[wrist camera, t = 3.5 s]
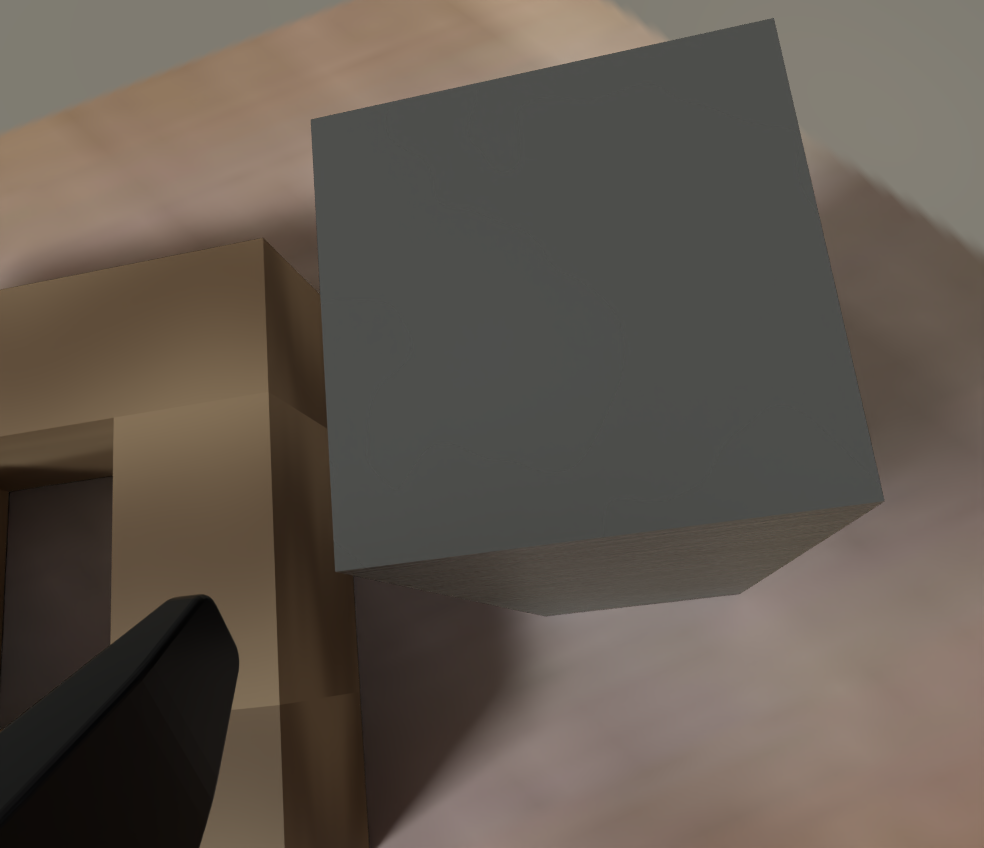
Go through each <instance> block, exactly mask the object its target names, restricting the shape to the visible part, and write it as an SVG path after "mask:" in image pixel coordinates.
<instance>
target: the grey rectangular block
mask: <svg viewBox="0 0 984 848" xmlns="http://www.w3.org/2000/svg"><path fill="white" fill-rule="evenodd" d="M311 133H312V151H313V170H314V188H315V207H316V225H317V244H318V262H319V281H320V299H321V318H322V336H323V355H324V373H325V392H326V411H327V429H328V448H329V466H330V485H331V503H332V522H333V540H334V559H335V572H339V573H343V574H348V575H353V576H357V577H362V578H367V579H372V580H376V581H381V582H386V583H391V584H395V585H400V586H405V587H409V588H414V589H419V590H424V591H428V592H433V593H438V594H442V595H447V596H452V597H457V598H461V599H466V600H471V601H475V602H480V603H485V604H490V605H494V606H499V607H504V608H508V609H513V610H518V611H523V612H527V613H532V614H537V615H542V616H552V615H561V614H570V613H578V612H587V611H596V610H604V609H613V608H622V607H631V606H639V605H648V604H657V603H665V602H674V601H683V600H692V599H700V598H709V597H718V596H726V595H735V594H741V593H742V592H744V591H745V590H747V589H748V588H750V587H752V586H753V585H755V584H756V583H758V582H759V581H761V580H762V579H764V578H766V577H767V576H769V575H770V574H772V573H773V572H775V571H776V570H778V569H780V568H781V567H783V566H784V565H786V564H787V563H789V562H791V561H792V560H794V559H795V558H797V557H798V556H800V555H801V554H803V553H805V552H806V551H808V550H809V549H811V548H812V547H814V546H815V545H817V544H819V543H820V542H822V541H823V540H825V539H826V538H828V537H830V536H831V535H833V534H834V533H836V532H837V531H839V530H840V529H842V528H844V527H845V526H847V525H848V524H850V523H851V522H853V521H855V520H856V519H858V518H859V517H861V516H862V515H864V514H865V513H867V512H869V511H870V510H872V509H873V508H875V507H876V506H878V505H879V504H881V503H883V502H884V497H883V492H882V488H881V484H880V479H879V475H878V471H877V466H876V462H875V457H874V453H873V449H872V444H871V440H870V436H869V431H868V427H867V423H866V418H865V414H864V409H863V405H862V401H861V396H860V392H859V388H858V383H857V379H856V375H855V370H854V366H853V361H852V357H851V353H850V348H849V344H848V340H847V335H846V331H845V327H844V322H843V318H842V313H841V309H840V305H839V300H838V296H837V292H836V287H835V283H834V279H833V274H832V270H831V265H830V261H829V257H828V252H827V248H826V244H825V239H824V235H823V231H822V226H821V222H820V217H819V213H818V209H817V204H816V200H815V196H814V191H813V187H812V183H811V178H810V174H809V169H808V165H807V161H806V156H805V152H804V148H803V143H802V139H801V135H800V130H799V126H798V121H797V117H796V113H795V109H794V105H793V100H792V95H791V91H790V87H789V83H788V78H787V74H786V69H785V65H784V60H783V56H782V52H781V47H780V43H779V39H778V34H777V30H776V26H775V21H774V18H772V19H768V20H763V21H759V22H754V23H749V24H745V25H740V26H736V27H731V28H727V29H722V30H717V31H713V32H709V33H704V34H700V35H695V36H690V37H685V38H681V39H676V40H672V41H667V42H663V43H658V44H654V45H649V46H644V47H640V48H635V49H631V50H626V51H622V52H617V53H612V54H608V55H603V56H599V57H594V58H590V59H585V60H581V61H576V62H571V63H567V64H562V65H558V66H553V67H549V68H544V69H539V70H535V71H530V72H526V73H521V74H517V75H512V76H507V77H503V78H498V79H494V80H489V81H485V82H480V83H476V84H471V85H466V86H462V87H457V88H453V89H448V90H444V91H439V92H434V93H430V94H425V95H421V96H416V97H412V98H407V99H402V100H398V101H393V102H389V103H384V104H380V105H375V106H371V107H366V108H361V109H357V110H352V111H348V112H343V113H339V114H334V115H329V116H325V117H320V118H316V119H311Z"/></svg>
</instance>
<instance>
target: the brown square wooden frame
mask: <svg viewBox="0 0 984 848" xmlns="http://www.w3.org/2000/svg"><path fill="white" fill-rule="evenodd" d="M108 476H113V503H112V568H111V634H110V645H111V644H112V643H114V642H115V641H116V640H117V639H119V638H120V637H121V636H122V635H124V634H125V633H126V632H127V631H129V630H130V629H131V628H133V627H134V626H135V625H136V624H138V623H139V622H140V621H141V620H143V619H144V618H145V617H146V616H148V615H149V614H150V613H152V612H153V611H154V610H155V609H157V608H158V607H159V606H160V605H162V604H163V603H164V602H166V601H167V600H169V599H171V598H174V597H179V596H188V595H196V594H204V595H208V596H209V597H211V598H212V599H213V600H214V602H215V604H216V605H217V607H218V609H219V611H220V613H221V615H222V617H223V620H224V622H225V624H226V626H227V628H228V630H229V632H230V634H231V636H232V638H233V640H234V642H235V644H236V646H237V649H238V653H239V673H238V678H237V683H236V688H235V693H234V699H233V704H232V709H231V714H230V719H229V725H228V730H227V735H226V740H225V745H224V751H223V756H222V761H221V766H220V771H219V776H218V781H217V786H216V790H215V795H214V799H213V803H212V807H211V810H210V814H209V817H208V821H207V825H206V828H205V831H204V834H203V838H202V841H201V844H200V848H369V836H368V819H367V802H366V785H365V768H364V752H363V735H362V718H361V701H360V684H359V667H358V651H357V634H356V617H355V600H354V583H353V575H348V574H343V573H339V572H335V559H334V540H333V522H332V503H331V485H330V466H329V448H328V429H327V411H326V392H325V373H324V355H323V336H322V318H321V299H320V294H319V293H318V292H317V291H316V290H315V289H314V288H313V287H312V286H311V285H310V284H309V283H308V282H307V281H306V280H305V279H304V278H303V277H302V276H301V275H300V274H299V273H298V272H297V271H296V270H295V269H294V268H293V267H292V266H291V265H290V264H289V263H288V262H287V261H286V260H285V259H284V258H283V257H282V256H281V255H280V254H279V253H278V252H277V251H276V250H275V249H274V248H273V247H272V246H271V245H270V244H269V243H268V242H267V241H266V240H265V239H264V238H259V239H254V240H249V241H244V242H239V243H234V244H229V245H224V246H219V247H214V248H209V249H204V250H199V251H194V252H189V253H184V254H179V255H174V256H169V257H163V258H158V259H153V260H148V261H143V262H138V263H133V264H128V265H123V266H118V267H113V268H108V269H103V270H98V271H93V272H88V273H83V274H78V275H73V276H67V277H62V278H57V279H52V280H47V281H42V282H37V283H32V284H27V285H22V286H17V287H12V288H7V289H2V290H0V667H1V646H2V626H3V605H4V584H5V563H6V543H7V522H8V501H9V492H11V491H17V490H24V489H30V488H37V487H43V486H50V485H56V484H63V483H69V482H76V481H82V480H89V479H95V478H101V477H108ZM2 730H3V729H0V732H1V731H2Z"/></svg>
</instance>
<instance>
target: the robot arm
mask: <svg viewBox="0 0 984 848" xmlns="http://www.w3.org/2000/svg"><path fill="white" fill-rule="evenodd" d="M238 673H239V653H238V649H237V646H236V644H235V642H234V640H233V638H232V636H231V634H230V632H229V630H228V628H227V626H226V624H225V622H224V620H223V617H222V615H221V613H220V611H219V609H218V607H217V605H216V604H215V602H214V600H213V599H212V598H211V597H209V596H208V595H204V594H196V595H188V596H179V597H174V598H171V599H169V600H167V601H166V602H164V603H163V604H162V605H160V606H159V607H158V608H157V609H155V610H154V611H153V612H152V613H150V614H149V615H148V616H146V617H145V618H144V619H143V620H141V621H140V622H139V623H138V624H136V625H135V626H134V627H133V628H131V629H130V630H129V631H127V632H126V633H125V634H124V635H122V636H121V637H120V638H119V639H117V640H116V641H115V642H114V643H112V644H111V645H110V646H108V647H107V648H106V649H105V650H103V651H102V652H101V653H100V654H98V655H97V656H96V657H94V658H93V659H92V660H91V661H89V662H88V663H87V664H86V665H84V666H83V667H82V668H81V669H79V670H78V671H77V672H75V673H74V674H73V675H72V676H70V677H69V678H68V679H67V680H65V681H64V682H63V683H61V684H60V685H59V686H58V687H56V688H55V689H54V690H53V691H51V692H50V693H49V694H48V695H46V696H45V697H44V698H42V699H41V700H40V701H39V702H37V703H36V704H35V705H34V706H32V707H31V708H30V709H29V710H27V711H26V712H25V713H23V714H22V715H21V716H20V717H18V718H17V719H16V720H15V721H13V722H12V723H11V724H9V725H8V726H7V727H6V728H4V729H3V730H2V731H1V732H0V848H200V844H201V841H202V838H203V834H204V831H205V828H206V825H207V821H208V817H209V814H210V810H211V807H212V803H213V799H214V795H215V790H216V786H217V781H218V776H219V771H220V766H221V761H222V756H223V751H224V745H225V740H226V735H227V730H228V725H229V719H230V714H231V709H232V704H233V699H234V693H235V688H236V683H237V678H238Z"/></svg>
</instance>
